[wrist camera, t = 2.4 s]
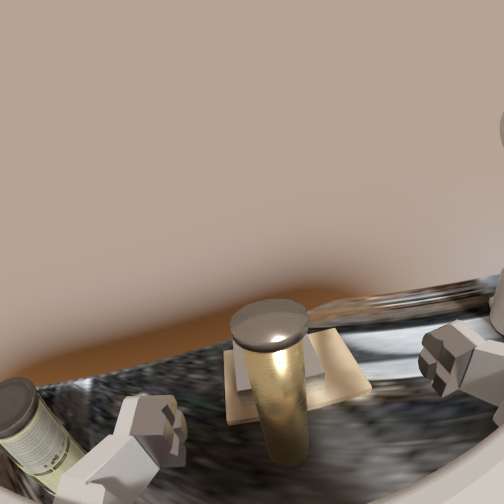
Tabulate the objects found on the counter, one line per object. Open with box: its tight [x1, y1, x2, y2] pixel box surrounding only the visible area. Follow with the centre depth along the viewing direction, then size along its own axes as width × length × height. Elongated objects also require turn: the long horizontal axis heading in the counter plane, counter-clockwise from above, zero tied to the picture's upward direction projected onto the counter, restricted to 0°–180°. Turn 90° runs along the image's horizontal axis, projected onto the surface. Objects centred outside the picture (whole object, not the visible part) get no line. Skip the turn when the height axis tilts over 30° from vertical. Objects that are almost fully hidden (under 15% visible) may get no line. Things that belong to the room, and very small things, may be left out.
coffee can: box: [0, 377, 87, 496], centre depth 21 cm, size 10×10×14 cm
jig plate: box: [224, 328, 372, 426], centre depth 41 cm, size 20×16×1 cm
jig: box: [233, 333, 325, 407], centre depth 40 cm, size 12×12×4 cm
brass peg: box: [230, 299, 309, 468], centre depth 24 cm, size 6×6×20 cm
